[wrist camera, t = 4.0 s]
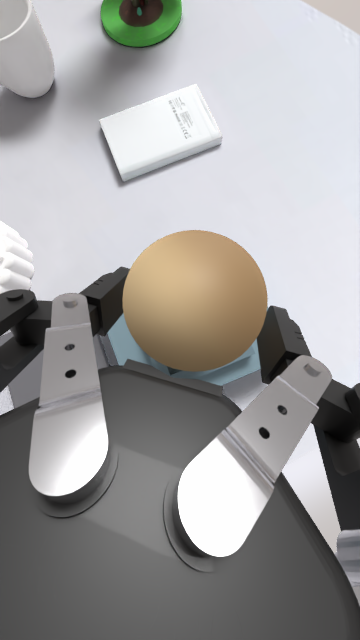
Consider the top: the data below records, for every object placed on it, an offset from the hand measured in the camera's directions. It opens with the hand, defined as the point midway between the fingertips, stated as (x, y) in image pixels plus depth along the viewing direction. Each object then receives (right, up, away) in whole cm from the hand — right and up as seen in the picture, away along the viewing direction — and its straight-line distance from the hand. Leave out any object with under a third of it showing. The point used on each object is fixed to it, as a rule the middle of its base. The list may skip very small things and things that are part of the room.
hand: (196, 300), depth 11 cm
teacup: (-21, +29, +14) cm, 38 cm away
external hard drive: (-3, +21, +13) cm, 25 cm away
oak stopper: (0, -2, +6) cm, 6 cm away
